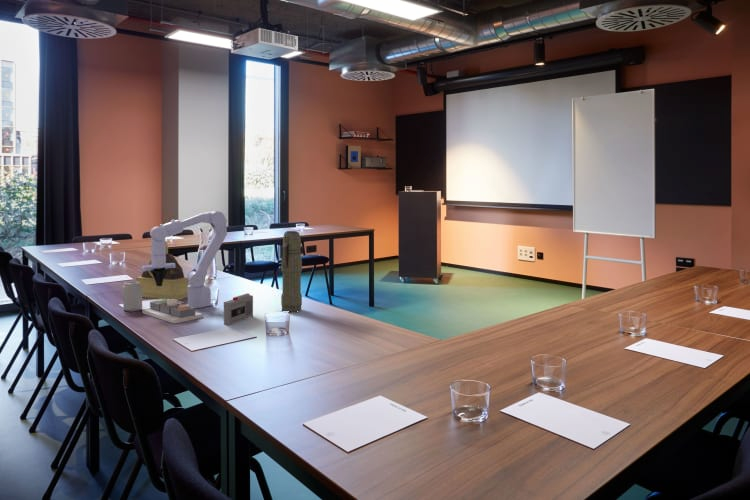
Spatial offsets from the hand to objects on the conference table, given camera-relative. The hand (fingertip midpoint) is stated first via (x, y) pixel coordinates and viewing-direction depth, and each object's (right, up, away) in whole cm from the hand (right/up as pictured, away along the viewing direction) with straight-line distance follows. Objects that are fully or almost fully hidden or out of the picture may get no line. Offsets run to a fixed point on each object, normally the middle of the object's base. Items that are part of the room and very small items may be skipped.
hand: (159, 285), depth 234 cm
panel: (+9, -12, -8) cm, 17 cm away
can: (-11, -10, 0) cm, 15 cm away
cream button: (+9, -9, -9) cm, 15 cm away
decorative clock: (-11, -7, +30) cm, 32 cm away
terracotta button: (+15, -11, -13) cm, 23 cm away
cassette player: (+38, -13, -13) cm, 42 cm away
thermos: (+56, -11, +5) cm, 58 cm away
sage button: (+3, -9, -3) cm, 10 cm away
